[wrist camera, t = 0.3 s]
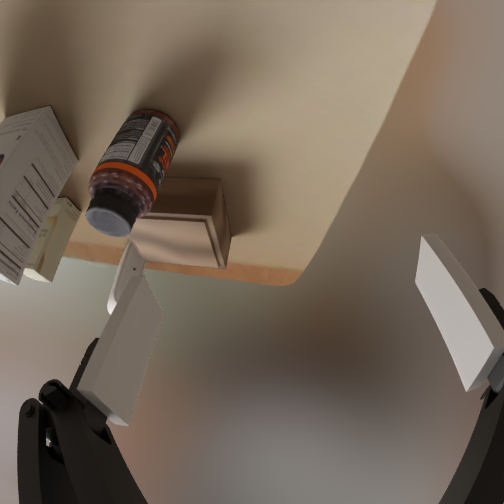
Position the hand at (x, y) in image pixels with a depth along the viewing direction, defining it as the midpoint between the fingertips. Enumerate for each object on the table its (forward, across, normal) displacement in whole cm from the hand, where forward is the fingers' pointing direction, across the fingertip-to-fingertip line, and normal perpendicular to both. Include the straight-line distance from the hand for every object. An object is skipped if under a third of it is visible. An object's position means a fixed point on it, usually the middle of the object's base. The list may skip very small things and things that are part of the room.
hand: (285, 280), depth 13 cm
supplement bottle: (+18, -11, +6) cm, 22 cm away
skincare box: (+26, -33, -1) cm, 42 cm away
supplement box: (+19, -26, +10) cm, 34 cm away
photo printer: (+31, -26, -14) cm, 43 cm away
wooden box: (+24, -13, -5) cm, 27 cm away
